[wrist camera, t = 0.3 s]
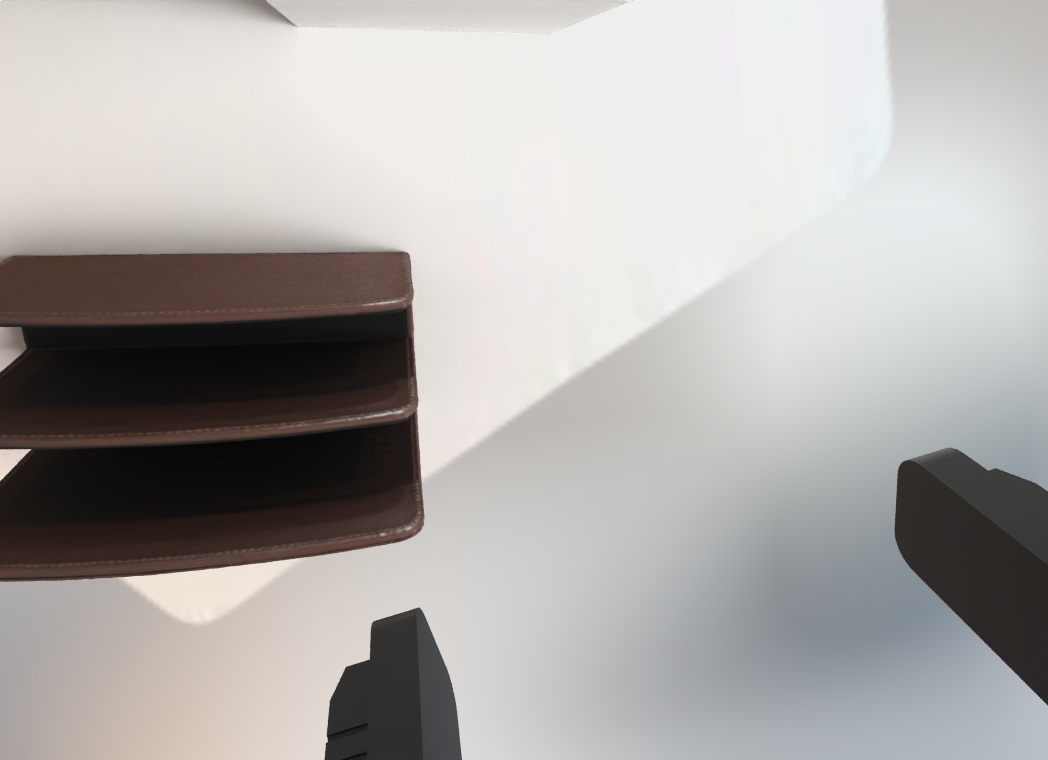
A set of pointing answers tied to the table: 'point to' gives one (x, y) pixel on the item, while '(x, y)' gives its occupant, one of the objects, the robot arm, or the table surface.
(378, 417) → the letter holder
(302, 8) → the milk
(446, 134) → the table surface
